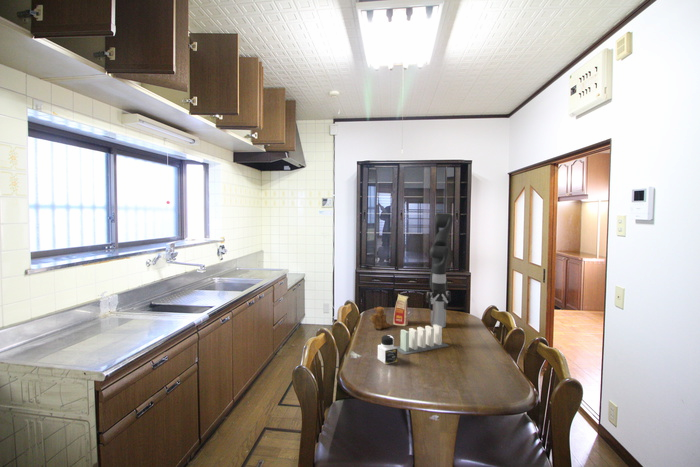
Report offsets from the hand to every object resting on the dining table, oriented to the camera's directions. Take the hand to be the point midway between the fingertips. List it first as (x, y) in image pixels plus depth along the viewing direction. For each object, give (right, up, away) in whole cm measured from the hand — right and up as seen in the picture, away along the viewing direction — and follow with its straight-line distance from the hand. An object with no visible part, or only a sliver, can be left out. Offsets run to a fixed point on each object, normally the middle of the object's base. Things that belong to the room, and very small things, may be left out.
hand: (438, 309), depth 176 cm
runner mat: (-11, -19, -5) cm, 23 cm away
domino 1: (-21, -19, -9) cm, 30 cm away
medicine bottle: (-31, -20, -22) cm, 43 cm away
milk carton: (-15, -18, +36) cm, 43 cm away
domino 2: (-16, -19, -7) cm, 26 cm away
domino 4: (-6, -19, -3) cm, 20 cm away
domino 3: (-11, -19, -5) cm, 22 cm away
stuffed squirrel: (-31, -19, +27) cm, 45 cm away
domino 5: (-1, -19, 0) cm, 19 cm away
